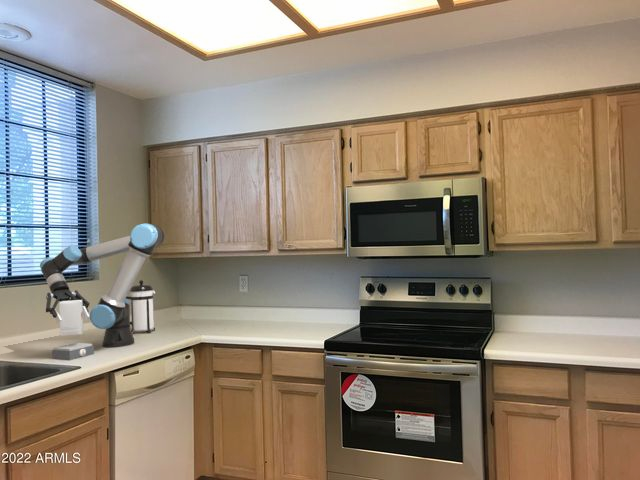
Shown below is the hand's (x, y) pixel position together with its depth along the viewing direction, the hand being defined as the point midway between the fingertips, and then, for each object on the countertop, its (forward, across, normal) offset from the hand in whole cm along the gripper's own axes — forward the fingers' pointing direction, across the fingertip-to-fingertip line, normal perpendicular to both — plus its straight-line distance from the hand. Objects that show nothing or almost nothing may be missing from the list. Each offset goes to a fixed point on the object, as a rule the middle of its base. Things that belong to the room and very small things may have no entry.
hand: (74, 320), depth 232 cm
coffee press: (-13, -54, -36) cm, 66 cm away
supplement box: (+3, 0, -6) cm, 7 cm away
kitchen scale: (+10, 0, -13) cm, 17 cm away
